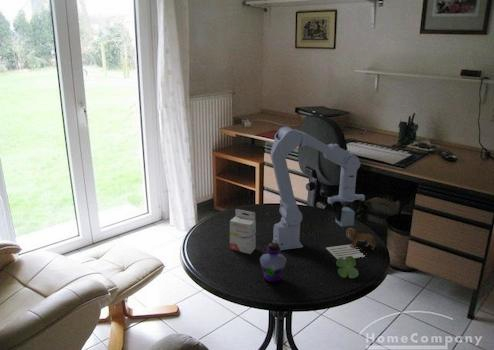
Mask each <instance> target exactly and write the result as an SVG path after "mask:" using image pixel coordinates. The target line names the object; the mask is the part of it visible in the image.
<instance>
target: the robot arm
mask: <svg viewBox="0 0 494 350" xmlns="http://www.w3.org/2000/svg"><path fill="white" fill-rule="evenodd" d="M299 146H300V147H304V146H308V147H310V148H312V149H315V150H317V151H319V152H321V153H322V154H323V157H324V158H325V159H327V160H328V161H331V162H333V164H336V165H338V166H340V175H339V176H340V177H339V187H338V189H339V190H338V194H337V195H332V196H328V197H327V203H328V204H329V205H331V206H332V209H333V211H334V214H335V221H336V220H338V221H340V220H341V212H342V208H344V205H342V203H345V202H346V203H347V202H348V203H349V205H348V206H349V208H350V209H352V210H353V211H355V215H354V217H356V214H357V212H358V210H359V208H360V207H361V206H362V202H361V201H366V200H365V198H366V196H365V195H364V194H363V193H361V194H358V193H356V182H357V174H358V169H360V167H361V163H362V162H360V159H359V157H358V156H357V155H355V154H353V153H351V152H350V150H348V149H346V150H345V149H344V148H342V147H340V144H337V143H334V144H333V143H329V144H325V143H324V142H322V141H320V140H318V139H317V138H315V137H313V136H311V135H309V134H308V133H307V132H303V131H300V129H299V130H298V129H295V128H294V129H293V128H292V127H291V126H282V127H280V128H279V129H278V130H277V132H276V133H275V134H274V141H273V143H272V147H271V149H270V159H271V164H272V167H273V168H272V169H273V172H274V177H275V181H276V185H277V188H278V193H279V198H280V200H279V204H280V205H279V214H280V215H281V218H280V221H279V222H277V223H275V224H274V225H273V231H272V232H273V233H272V234H273V235H272V236H273V239H272V243H278V244H279V247H280V248H281V250H280V251H283V250H284V251H286V250H292V249H301V248H304V245H303V244H302V243H301V242H300V232H301V223H302V221H303V213H302V212H301V210H300V209H299V207H298V203H297V201H296V198H295V195H294V190H293V186H292V185H293V184H292V182H291V176H290V172H289V168H288V163H287V157H288V155H289V154H290V153H291V152H293V151H295V150H296V149H297V148H298V147H299Z"/></svg>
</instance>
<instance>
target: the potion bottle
mask: <svg viewBox="0 0 494 350" xmlns="http://www.w3.org/2000/svg"><path fill="white" fill-rule="evenodd" d="M281 251H282V250H281V248H280V247H279V244H278V243H273V242H269V243H268V246H266V251H265V252H266V253H264V254H262V255H261V256H260V258H259V262H260V267H261V269H262V271H263V276H264V277H263V278H264V281H266V283H272V284H275V283H279V282H280V281H281V280H282V276H283V272H284V268H285V266H286V264H287V261H288V259H287V257H285V256H284V255H283V254H282V253H281Z"/></svg>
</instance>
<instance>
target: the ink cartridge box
mask: <svg viewBox="0 0 494 350" xmlns="http://www.w3.org/2000/svg"><path fill="white" fill-rule="evenodd" d="M234 211H235V216H234V217H233V218H231V219H230V220H229V250H232V251H236V252H241V253H244V254H249V255H251V254H252V253H253V252H254V250H255V249H256V240H257V239H256V238H257V237H256V233H257V230H256V226H257V225H256V223H257V220H256V212H254V211H249V210H243V209H238V208H235V210H234ZM246 214H247V215H246Z"/></svg>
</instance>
